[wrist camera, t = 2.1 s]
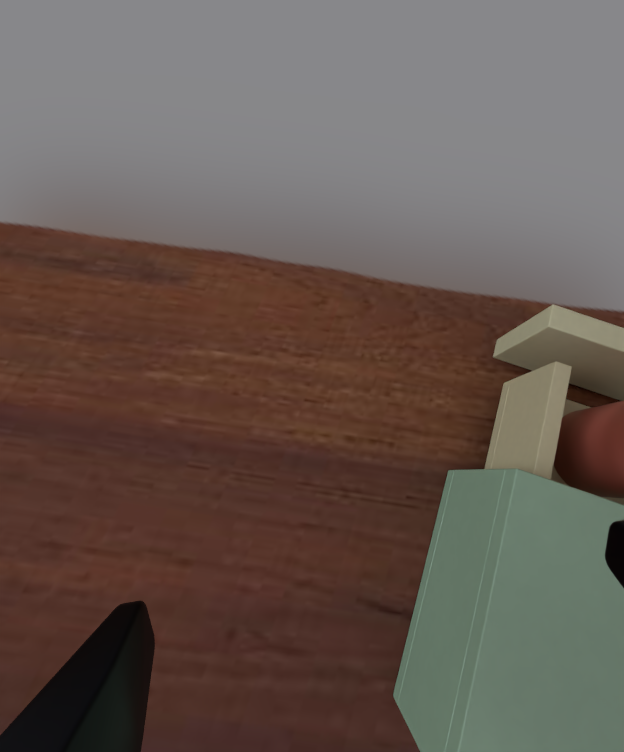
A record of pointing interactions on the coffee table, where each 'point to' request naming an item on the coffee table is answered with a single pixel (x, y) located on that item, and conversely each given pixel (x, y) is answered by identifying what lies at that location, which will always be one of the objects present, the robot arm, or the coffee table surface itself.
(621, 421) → the doll
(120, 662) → the robot arm
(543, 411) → the drawer
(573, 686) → the cabinet
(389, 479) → the coffee table surface
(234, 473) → the coffee table surface
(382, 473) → the coffee table surface
